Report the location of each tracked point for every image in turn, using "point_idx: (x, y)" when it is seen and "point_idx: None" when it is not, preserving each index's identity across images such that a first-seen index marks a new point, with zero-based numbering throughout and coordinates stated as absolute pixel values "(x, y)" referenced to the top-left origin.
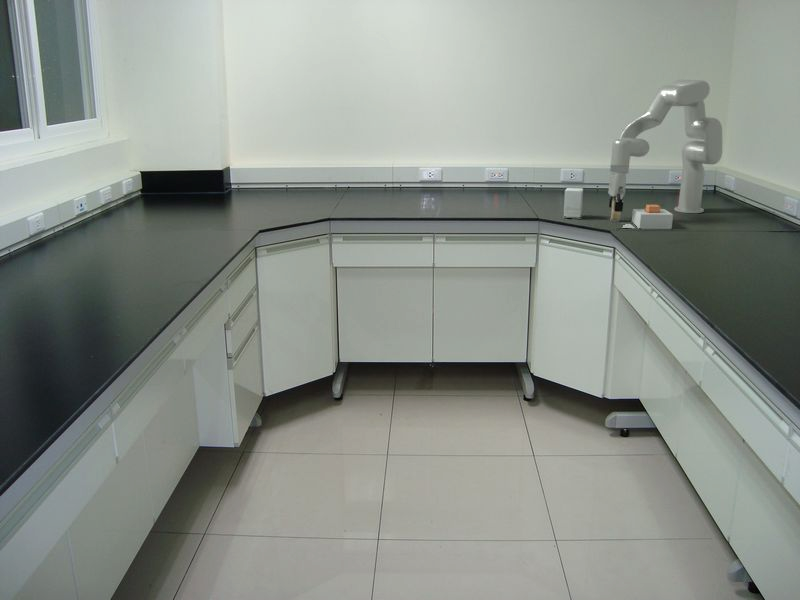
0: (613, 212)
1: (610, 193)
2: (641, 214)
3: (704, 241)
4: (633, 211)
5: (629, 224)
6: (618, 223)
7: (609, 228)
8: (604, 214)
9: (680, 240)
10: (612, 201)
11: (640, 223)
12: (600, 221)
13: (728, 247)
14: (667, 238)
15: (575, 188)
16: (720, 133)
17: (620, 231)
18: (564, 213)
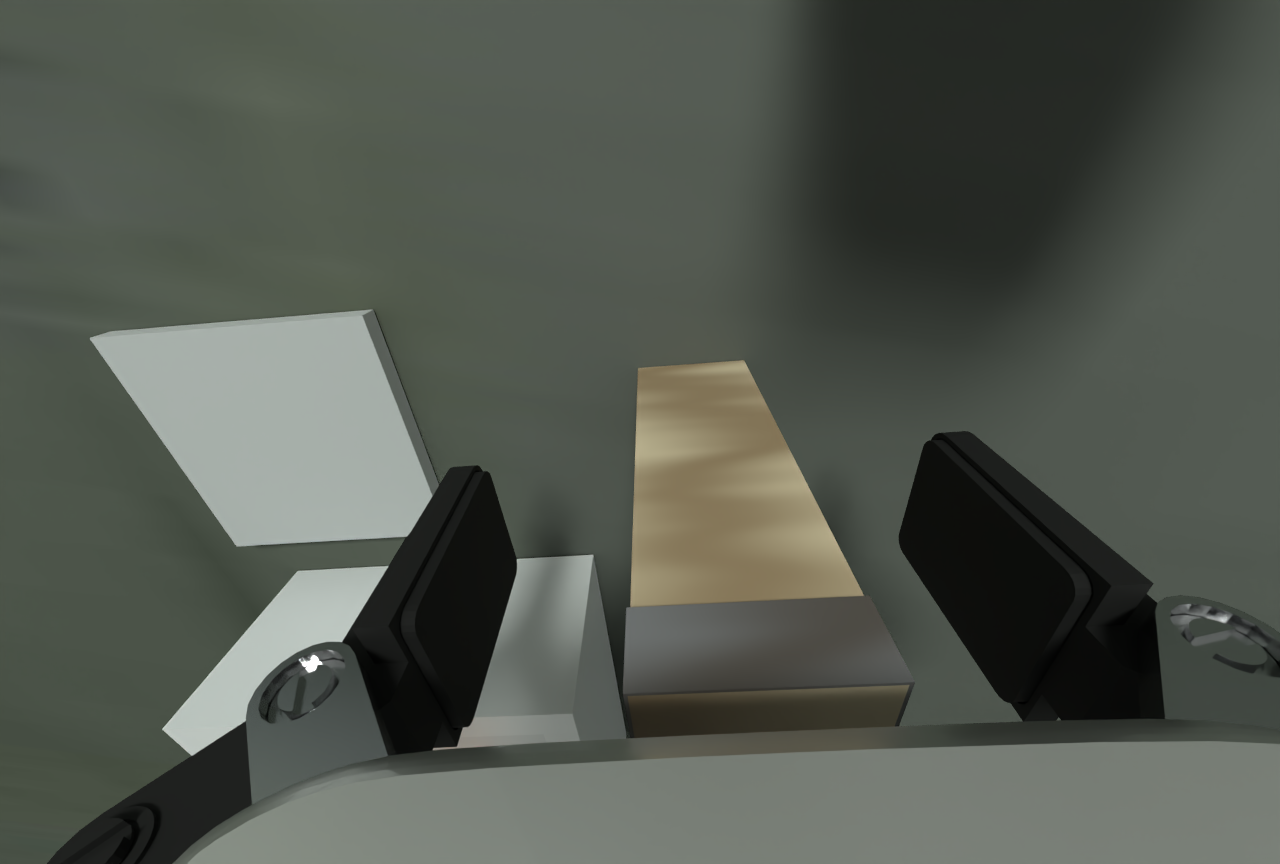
0: (636, 439)
1: (821, 859)
2: (167, 733)
3: (97, 798)
4: (540, 683)
5: (407, 523)
6: (534, 425)
7: (123, 254)
8: (1189, 335)
9: (15, 723)
10: (816, 569)
11: (261, 622)
12: (640, 182)
13: (20, 838)
14: (17, 677)
15: None
16: None
17: (16, 374)
18: None
